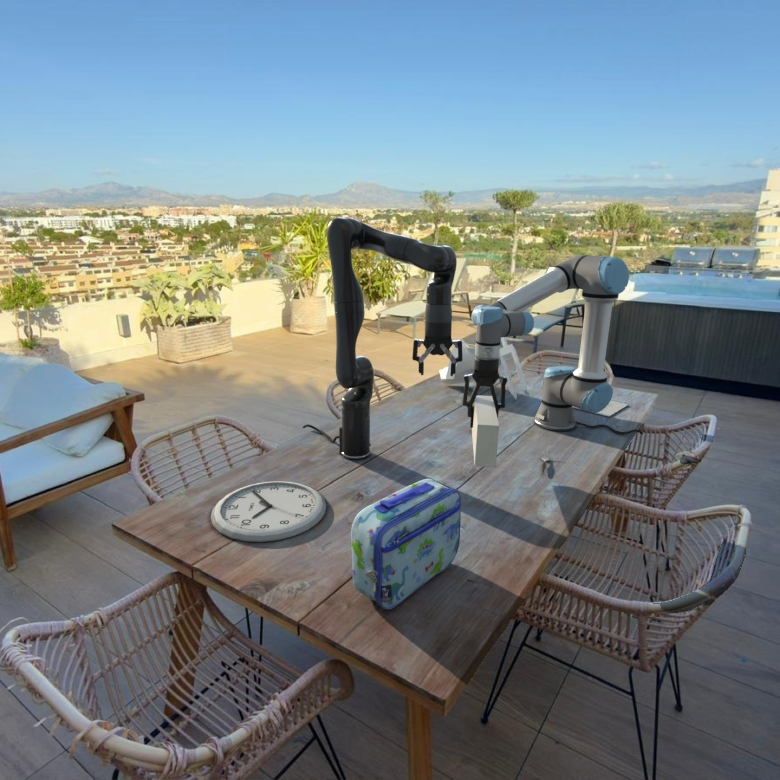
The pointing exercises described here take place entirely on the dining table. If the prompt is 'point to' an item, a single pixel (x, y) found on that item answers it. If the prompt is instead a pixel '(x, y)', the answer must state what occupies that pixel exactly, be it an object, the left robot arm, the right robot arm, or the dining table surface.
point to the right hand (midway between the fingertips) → (481, 426)
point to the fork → (545, 460)
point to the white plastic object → (468, 366)
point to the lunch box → (405, 541)
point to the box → (485, 432)
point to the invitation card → (611, 408)
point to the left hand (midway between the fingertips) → (437, 375)
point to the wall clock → (268, 511)
